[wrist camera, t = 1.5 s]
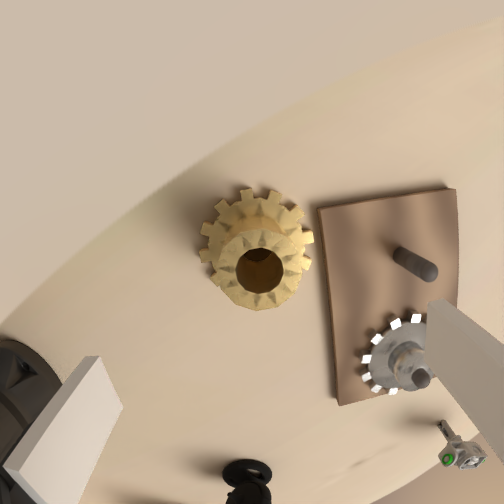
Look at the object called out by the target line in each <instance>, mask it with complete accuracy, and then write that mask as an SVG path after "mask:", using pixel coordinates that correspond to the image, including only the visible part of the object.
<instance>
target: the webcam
mask: <svg viewBox="0 0 504 504" xmlns="http://www.w3.org/2000/svg"><path fill="white" fill-rule="evenodd" d="M247 469H253V470H257V471H259V472H261V473H262V474H263V476H262V477H261V478H260V479H258V478H256V477H254V476H252V475H251V474H250V473H248V472H247ZM222 477H223V479H224V481H225V482H226V483H227V484H228V485H230V486H232V487H234V488H235V489H234V490H233V491H232V492H229V493H228V494H227V496H229V497H228V499H227V501H226V504H271V493H270V490H269V488H268V487H267V486H266V484H267V483H269V481H270V480H271V478H272V471H271V469H270V468H269V467H268V466H267V465H265V464H263V463H261V462H258V461H251V460H243V461H237V462H234V463H231V464H229V465H228V466H227V467H225V469H224V470H223V473H222Z"/></svg>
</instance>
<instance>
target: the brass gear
mask: <svg viewBox="0 0 504 504" xmlns="http://www.w3.org/2000/svg"><path fill="white" fill-rule="evenodd" d="M240 193H241V199H242V201H237V202H235V203H233V204H232V205H231V206H230V205H229V204H228V203H227V202H226V201H225V199H224V198H223V199H222V200H221V201H220V202H219V203H218V204H217V205H215V206H214V208H215V209H216V210H217V211H218V212H219V214H220V216H218V217H217V218H216V220H215V223H214V224H212V223H210V222H207V221H204V223H203V225H202V228H201V231H200V234H202V235H205V236H208V237H210V238H209V241H208V248H204V249H200V251H199V254H200V259H201V263H203V262H209V261H212V266H213V268H214V269H215V270H216V271H215V272H214V273H213V274H212V275H211V277H210V279H211V280H212V282H213V283H214V284H215V285H216V286H217V287H218V286H219V285H220V287H221V290H222V291H223V292H224V293H225V294H226V295H227V296H228V297H229V298H230V299H231V300H232V301H233V302H234V303H235V304H236V305H239V306H242V307H245V308H248V309H251V310H254V311H259V310H264V309H270V308H276V307H278V306H279V305H281V304H282V303H283V302H285V301H286V300H287V299H288V298H290V297H291V296H292V295H293V294H294V293H295V291H296V288H297V286H298V284H299V281H300V279H301V276H302V269H304V270H307V271H308V268H309V266H310V263H311V261H312V260H311V259H310V257H308V256H305V255H303V254H304V252H305V248H304V244H308V243H313V242H314V239H313V232H312V230H310V229H308V230H302V228H301V225H300V224H299V223H298V222H297V221H298V220H299V219H300V218H301V217H302V216H304V215H305V214H304V212H303V211H302V210H301V209H300V208H299V206H298V205H296V204H295V205H294V206H293V207H292V208H291V209H289V210H287V208H286V207H285V206H283V205H281V204H279V202H280V199H281V196H282V194H281V193H278V192H275V191H272V190H270V192H269V194H268V197H267V199H264V198H261V197H258V198H253V192H252V188H250V189H244V190H240ZM261 247H262V248H265V249H268V250H271V251H272V252H271V254H270V255H269V256H268V257H267V258H266V259H264V260H261V261H256V262H254V261H251V260H249V259H246V258H245V257H244V256H243V254H244V253H246V252H247V251H248V250H250V249H255V248H261Z"/></svg>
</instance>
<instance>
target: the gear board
mask: <svg viewBox="0 0 504 504" xmlns="http://www.w3.org/2000/svg"><path fill="white" fill-rule="evenodd" d="M317 212H318V219H319V226H320V233H321V240H322V248H323V255H324V263H325V271H326V280H327V289H328V298H329V308H330V318H331V329H332V340H333V353H334V366H335V382H336V399H337V402H338V405H339V406H342V405H347V404H351V403H354V402H358V401H362V400H366V399H369V398H373V397H376V396H380V395H383V394H387V392H386V391H385V388H384V387H382V388H381V389H380V390H379V391H378V392H377V393H375V392H373V391H372V390H370V388H369V386H368V384H369V383H370V381H371V380H372V378H371V379H369V380H367V381H365V382H363V380H362V378H361V376H360V373H359V370H360V369H362V368H364V367H367V366H366V363H361V362H360V360H359V358H358V357H359V353H360V350H369V348H370V345H371V344H372V342H371V341H370V339H369V338H368V335H369V334H370V332H371V331H372V330H373V329H375V330H377V331H378V332H381V331H382V330H383V329H385V328H386V327H387V326H389V325H388V322H387V319H386V318H388V317H390V316H392V315H393V314H396V315H397V316H398V318H399V319H400V320H402V319H406V318H407V314H408V311H409V310H417V311H418V312H419V313H420V314H421V317H420V320H421V321H422V320H423V319H424V318H425V316H426V315H427V303H428V302H431V301H435V300H438V299H442V298H444V299H445V300H446V301H448V302H449V303H450V304H452V305H453V306H454V307H456V308H457V296H458V273H459V233H458V210H457V196H456V189H451V188H447V189H439V190H432V191H425V192H418V193H411V194H404V195H397V196H390V197H383V198H377V199H370V200H364V201H358V202H351V203H345V204H339V205H333V206H327V207H321V208H317ZM434 377H437V376H436V375H435V374H434V375H433V377H432V378H434ZM411 380H412V381H413V383H414V384H415V385H416V387H418V388H421V389H422V388H425V387H427V386H428V385H429V383H430V375H429V374H428V373H427V372H426V370H425V369H424V368H419V369H417V370H416V371H414V373H413V374H412V376H411ZM400 389H403V388H402V387H399V388H398V389H397V390H400Z"/></svg>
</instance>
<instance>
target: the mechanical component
mask: <svg viewBox="0 0 504 504" xmlns="http://www.w3.org/2000/svg"><path fill="white" fill-rule="evenodd" d="M441 424H442V426H438V427H439V429H440V430H441V432H442V433H443V435H444V437H445V438H446V440H447V441H448V443H447V446H446V447H445V448H444V449H443V450H442V451H441V452H440V453H439V455H438V457H439V459H440V461H441V462H442V464H443V465H444V466H447V467H449V466H452V465H453V464H454V465H457V466H458V467H459V469H460V470H463V469H473V468H477V467H478V466H479V465H480V464H481V463H483V462H484V461H485V459H486V458H487V455H486V453H485V452H484V450H482V448H481V447H480V446H479V445H478V444H477V443H475V442H465V441H462V439H461V436H460V435H457V436H456V435H455V434H454V432H453V431H452V429H451V428H450V426H449V425H448V423H447V422H446V421H445V420H443V421H442V422H441ZM467 464H470V465H467Z"/></svg>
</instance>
